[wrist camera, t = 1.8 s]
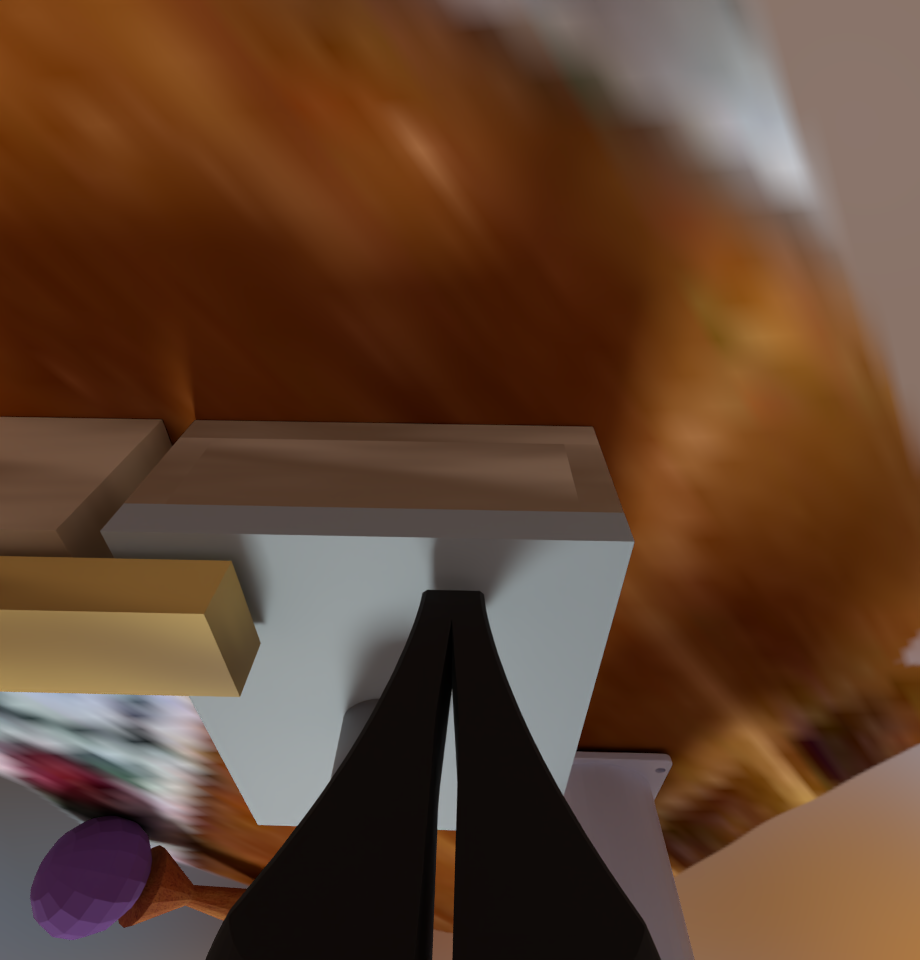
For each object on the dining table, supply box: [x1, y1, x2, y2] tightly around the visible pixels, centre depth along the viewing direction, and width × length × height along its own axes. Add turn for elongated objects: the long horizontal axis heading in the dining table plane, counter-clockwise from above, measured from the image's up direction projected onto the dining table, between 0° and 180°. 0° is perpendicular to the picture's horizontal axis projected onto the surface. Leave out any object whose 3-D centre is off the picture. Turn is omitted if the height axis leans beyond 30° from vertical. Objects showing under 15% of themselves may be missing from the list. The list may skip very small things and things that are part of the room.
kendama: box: [30, 816, 247, 940], centre depth 36 cm, size 6×6×20 cm
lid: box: [100, 503, 634, 830], centre depth 16 cm, size 16×12×6 cm
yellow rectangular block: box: [0, 556, 261, 697], centre depth 12 cm, size 3×10×2 cm, turn 89°
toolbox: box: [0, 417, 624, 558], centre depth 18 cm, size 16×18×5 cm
